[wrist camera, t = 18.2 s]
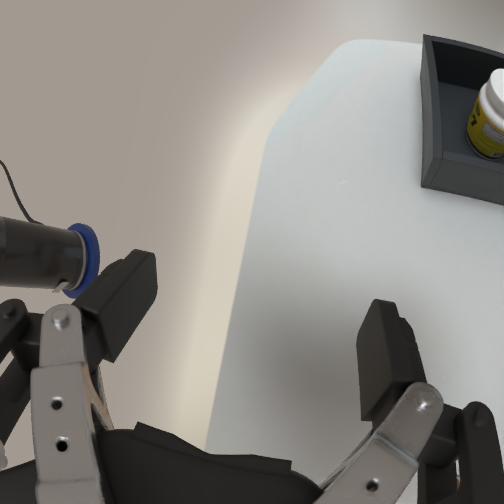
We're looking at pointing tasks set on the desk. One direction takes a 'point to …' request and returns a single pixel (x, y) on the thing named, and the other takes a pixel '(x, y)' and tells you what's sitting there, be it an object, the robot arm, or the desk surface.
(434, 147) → the bin
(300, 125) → the desk surface
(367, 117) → the desk surface
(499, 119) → the supplement bottle
